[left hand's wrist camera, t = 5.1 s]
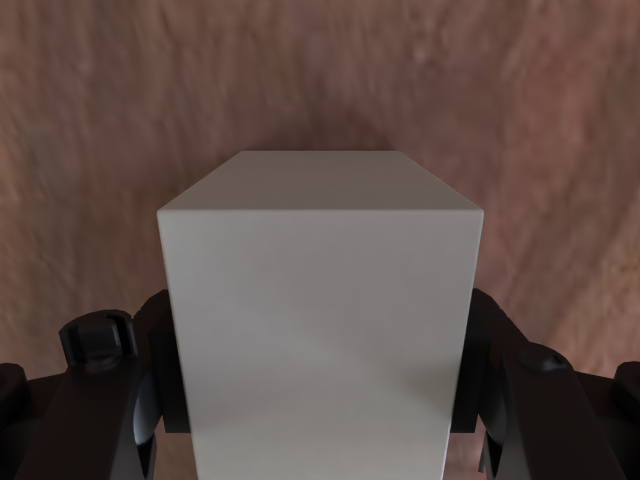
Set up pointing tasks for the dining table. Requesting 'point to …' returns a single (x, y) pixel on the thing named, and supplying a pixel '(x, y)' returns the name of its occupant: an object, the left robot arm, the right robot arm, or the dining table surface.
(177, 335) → the post
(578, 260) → the dining table surface
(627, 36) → the dining table surface
